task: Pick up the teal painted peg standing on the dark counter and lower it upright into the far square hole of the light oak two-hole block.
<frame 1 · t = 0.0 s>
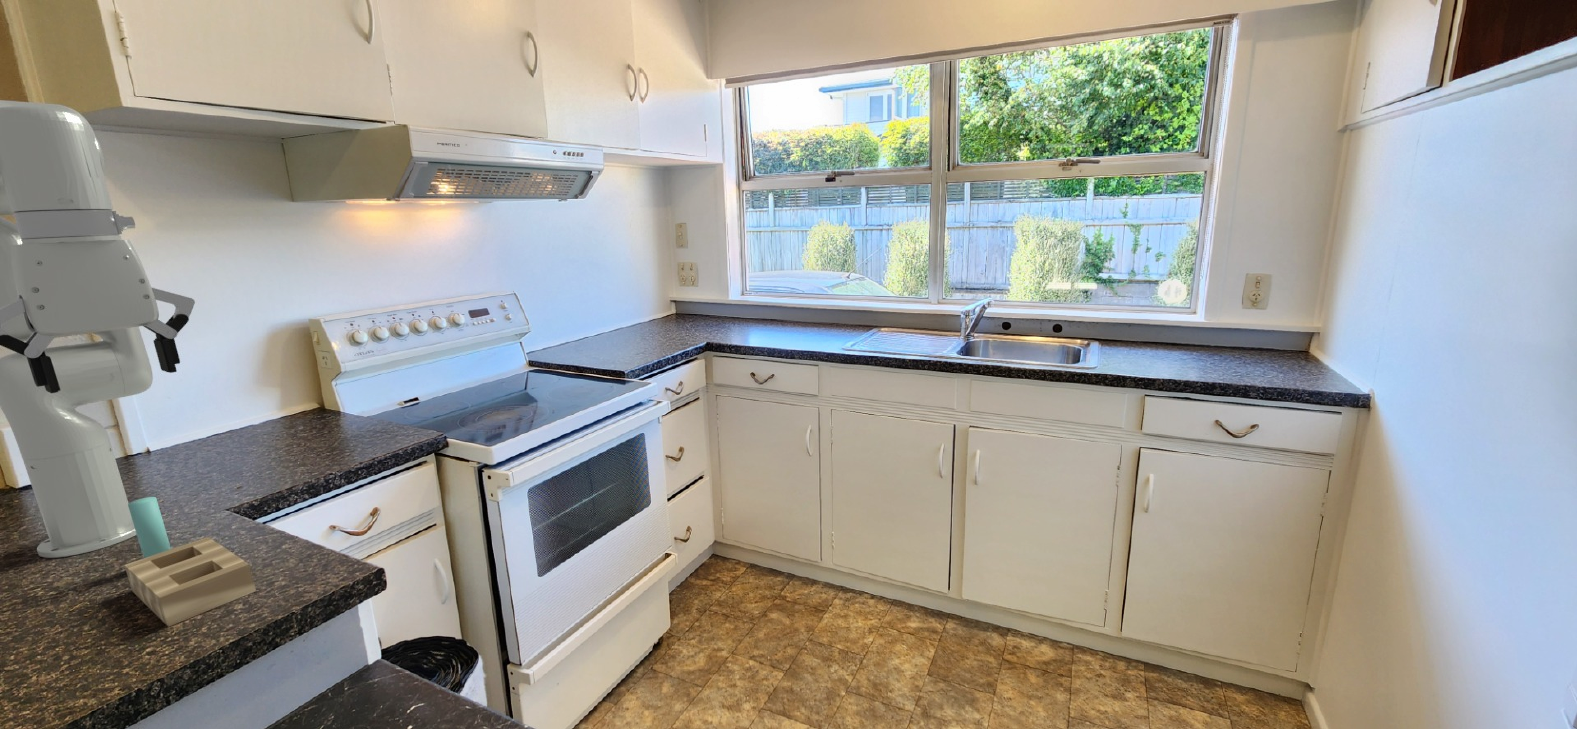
hand: (114, 380, 76), 31 cm above the countertop, tool pointing down, fingers open, 9 cm apart
peg: (160, 563, 98), on the countertop
hole block: (193, 591, 89), on the countertop
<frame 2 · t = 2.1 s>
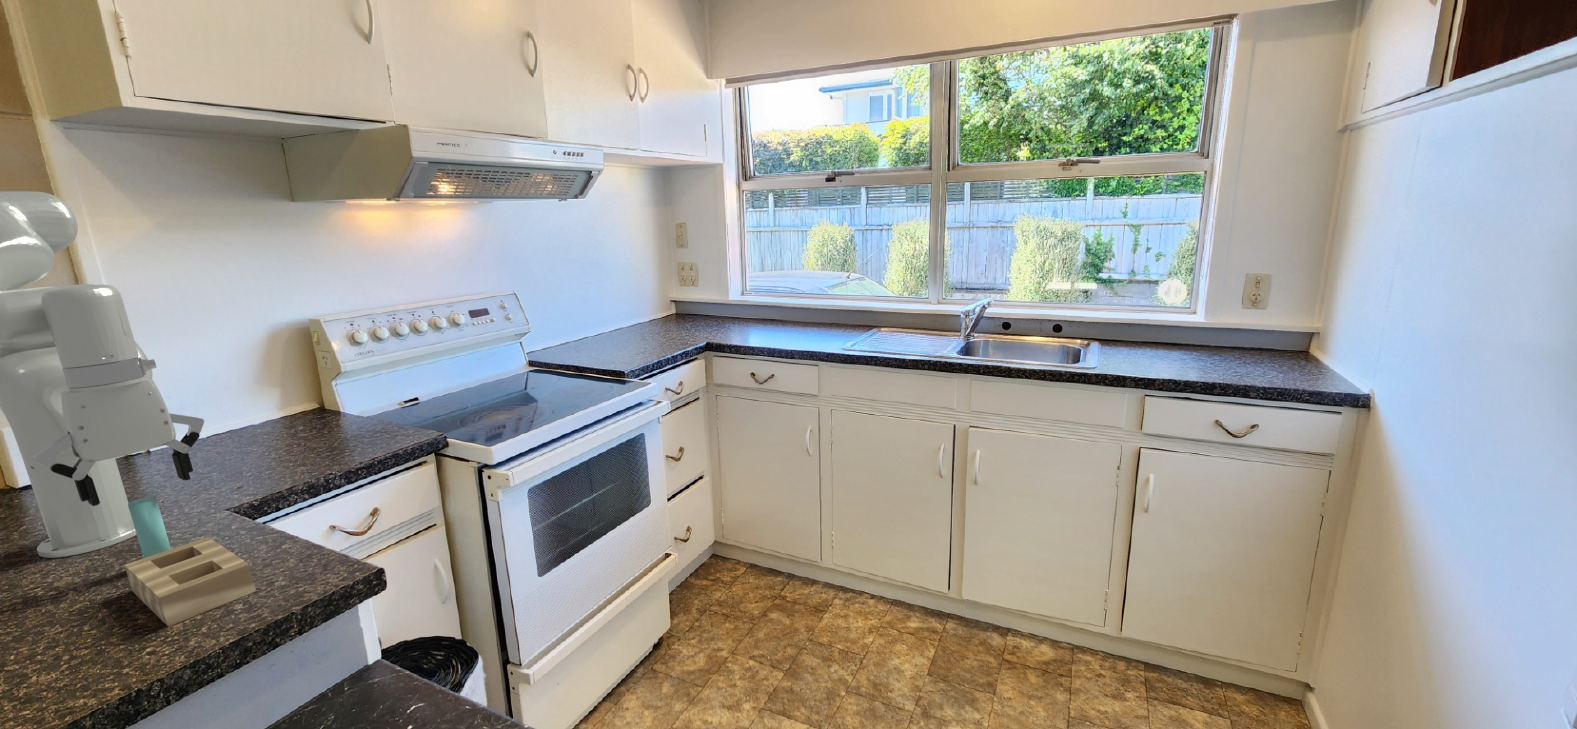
hand: (141, 490, 95), 12 cm above the countertop, tool pointing down, fingers open, 9 cm apart
nothing on the countertop moved.
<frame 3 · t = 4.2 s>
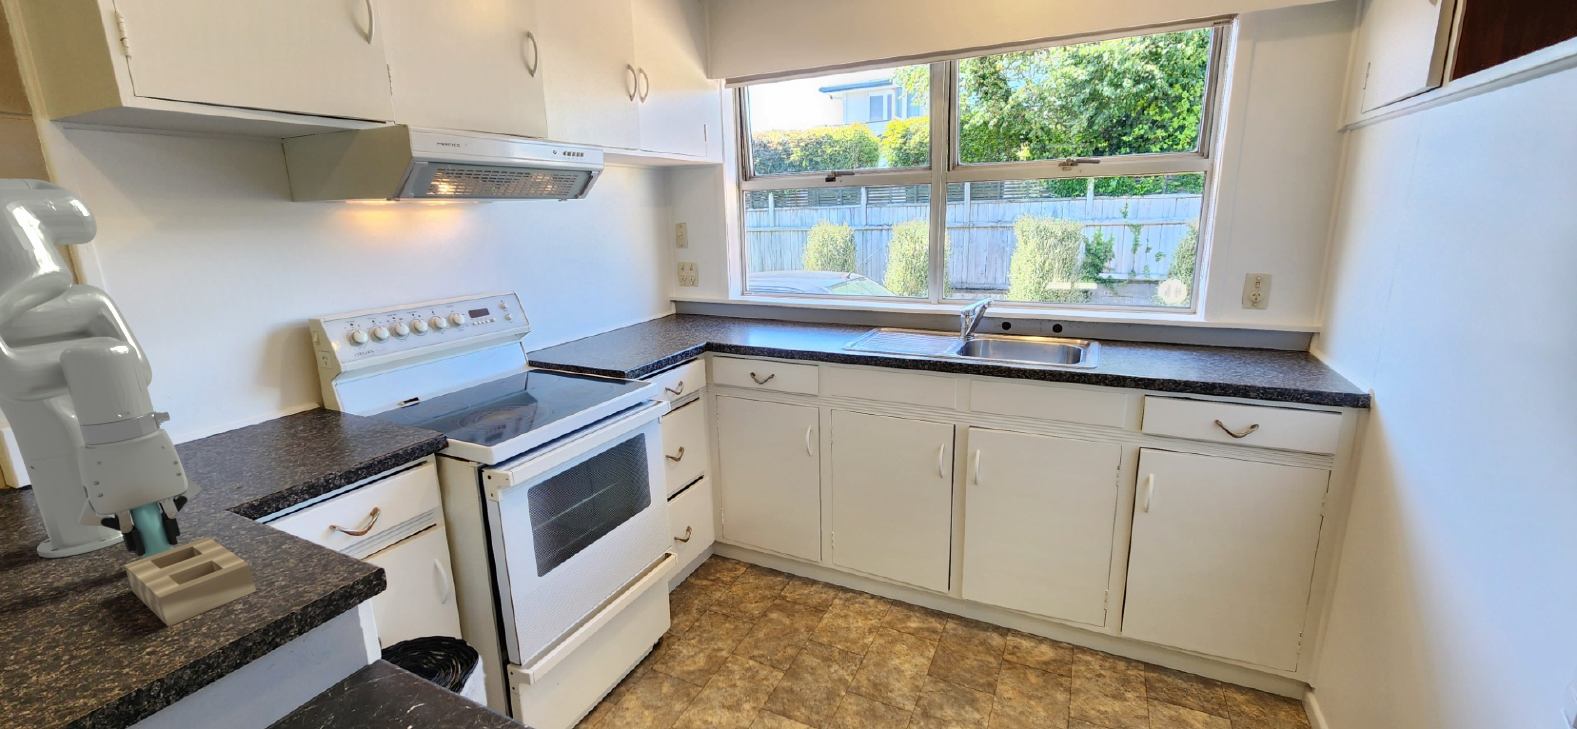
hand: (155, 547, 97), 3 cm above the countertop, tool pointing down, fingers closed on peg, 3 cm apart
peg: (160, 563, 98), on the countertop, touching gripper
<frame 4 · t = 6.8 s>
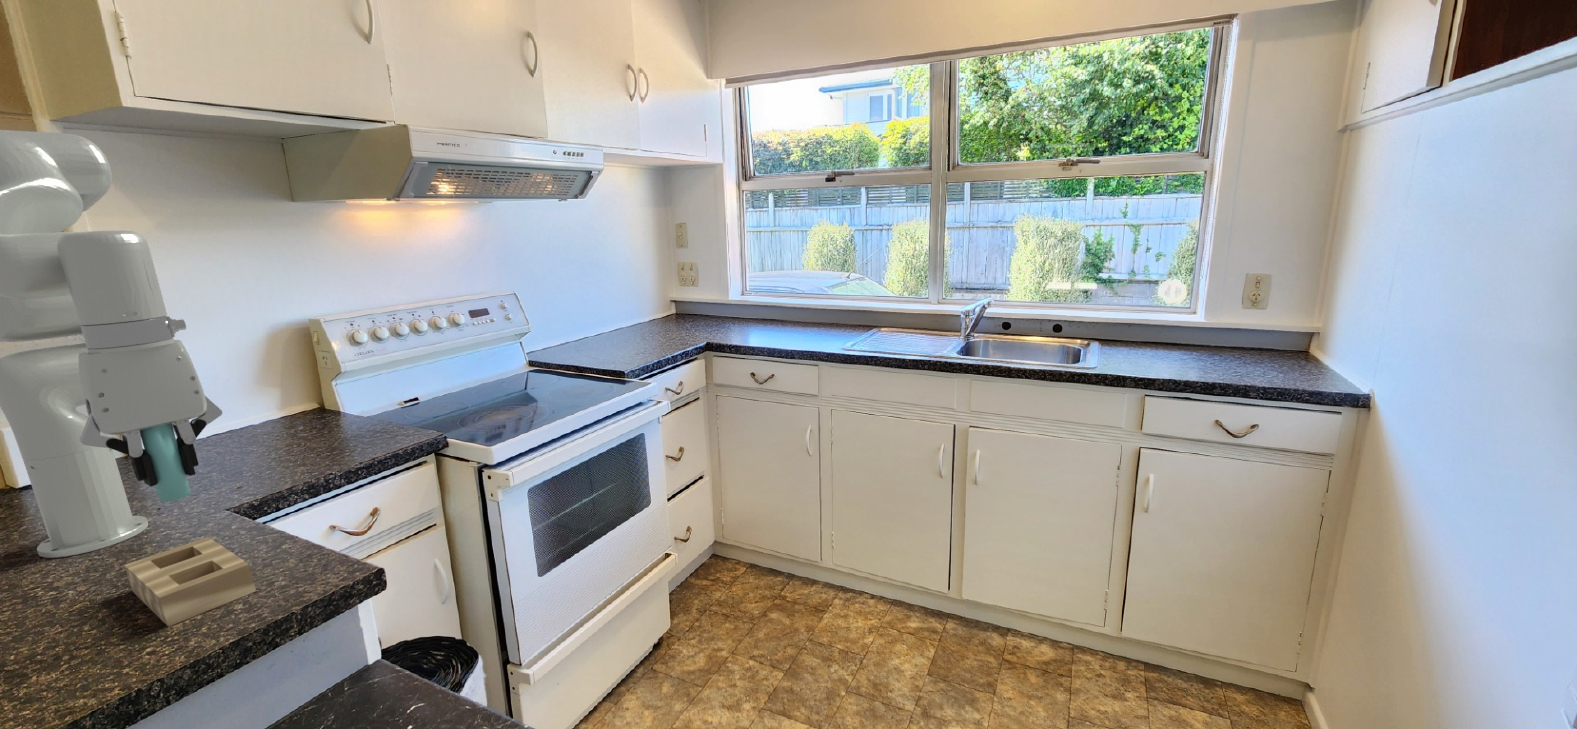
hand: (169, 477, 83), 17 cm above the countertop, tool pointing down, fingers closed on peg, 3 cm apart
peg: (175, 496, 84), point 15 cm above the countertop, touching gripper
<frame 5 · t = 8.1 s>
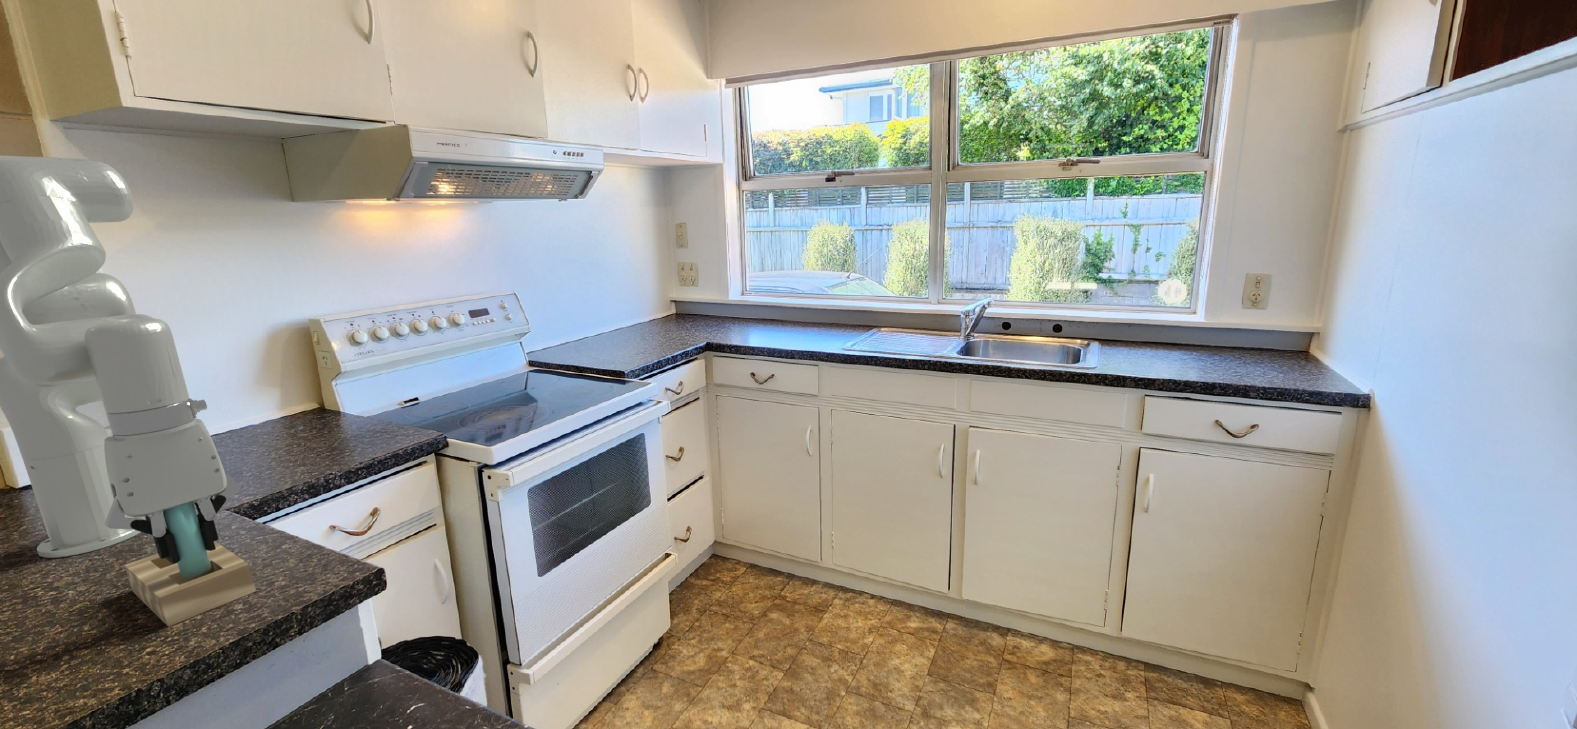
hand: (191, 553, 86), 7 cm above the countertop, tool pointing down, fingers closed on peg, 3 cm apart
peg: (196, 571, 86), point 4 cm above the countertop, touching gripper
when the fingers open (5 cm above the countertop, at t = 9.4 s): peg drops 2 cm, resting in hole block.
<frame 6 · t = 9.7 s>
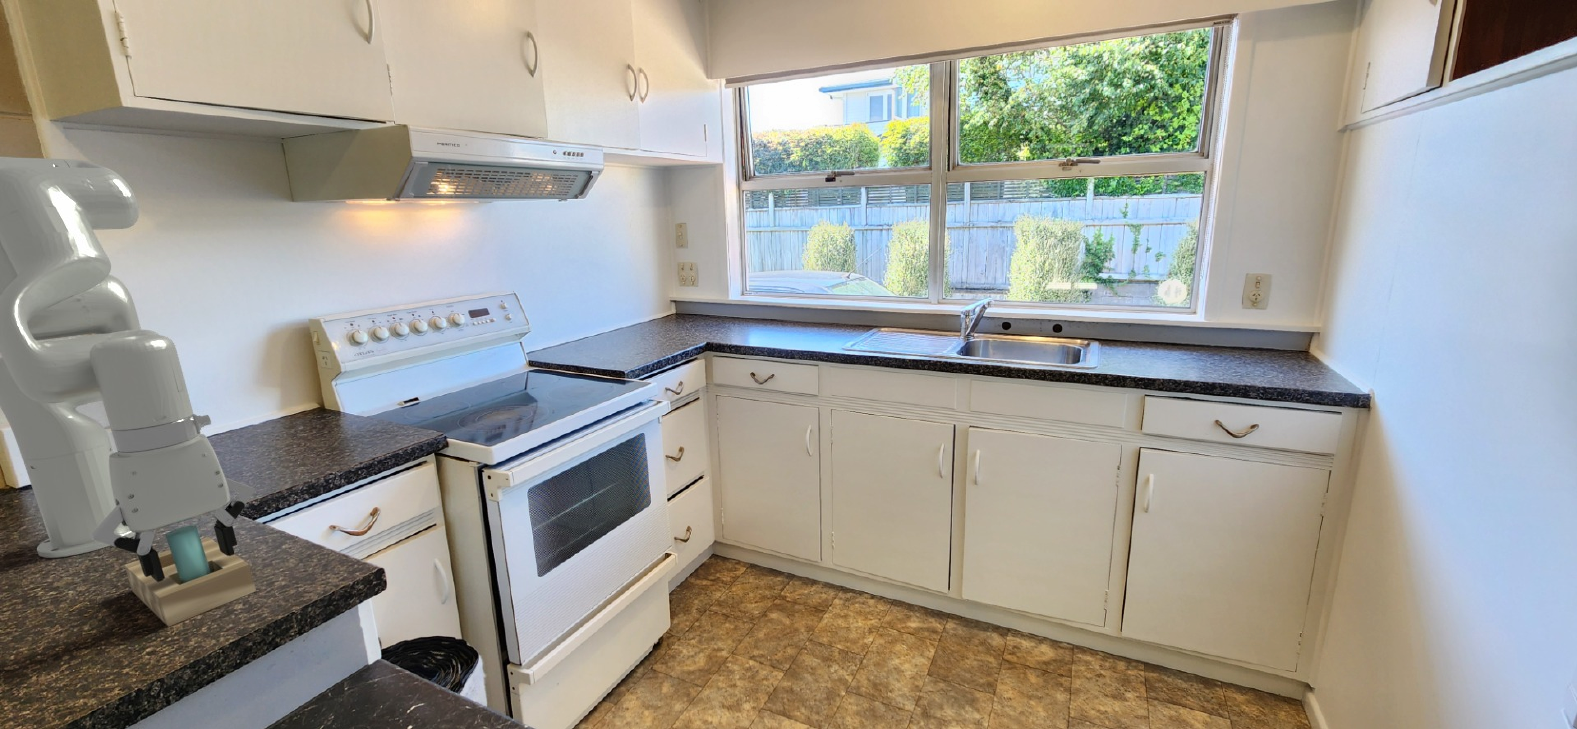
hand: (193, 564, 86), 5 cm above the countertop, tool pointing down, fingers open, 6 cm apart
peg: (203, 599, 87), resting in hole block
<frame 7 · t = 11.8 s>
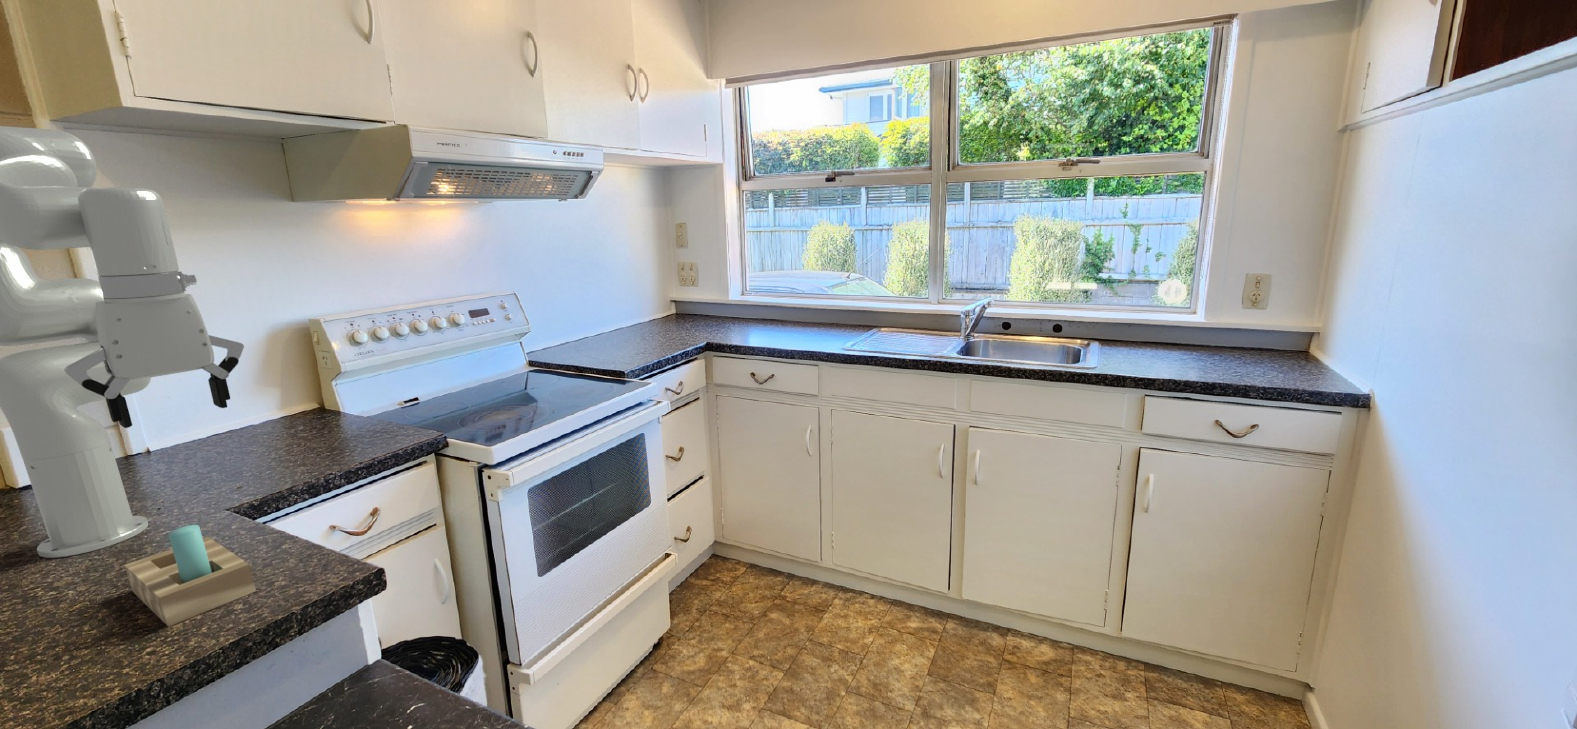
hand: (175, 415, 88), 24 cm above the countertop, tool pointing down, fingers open, 9 cm apart
nothing on the countertop moved.
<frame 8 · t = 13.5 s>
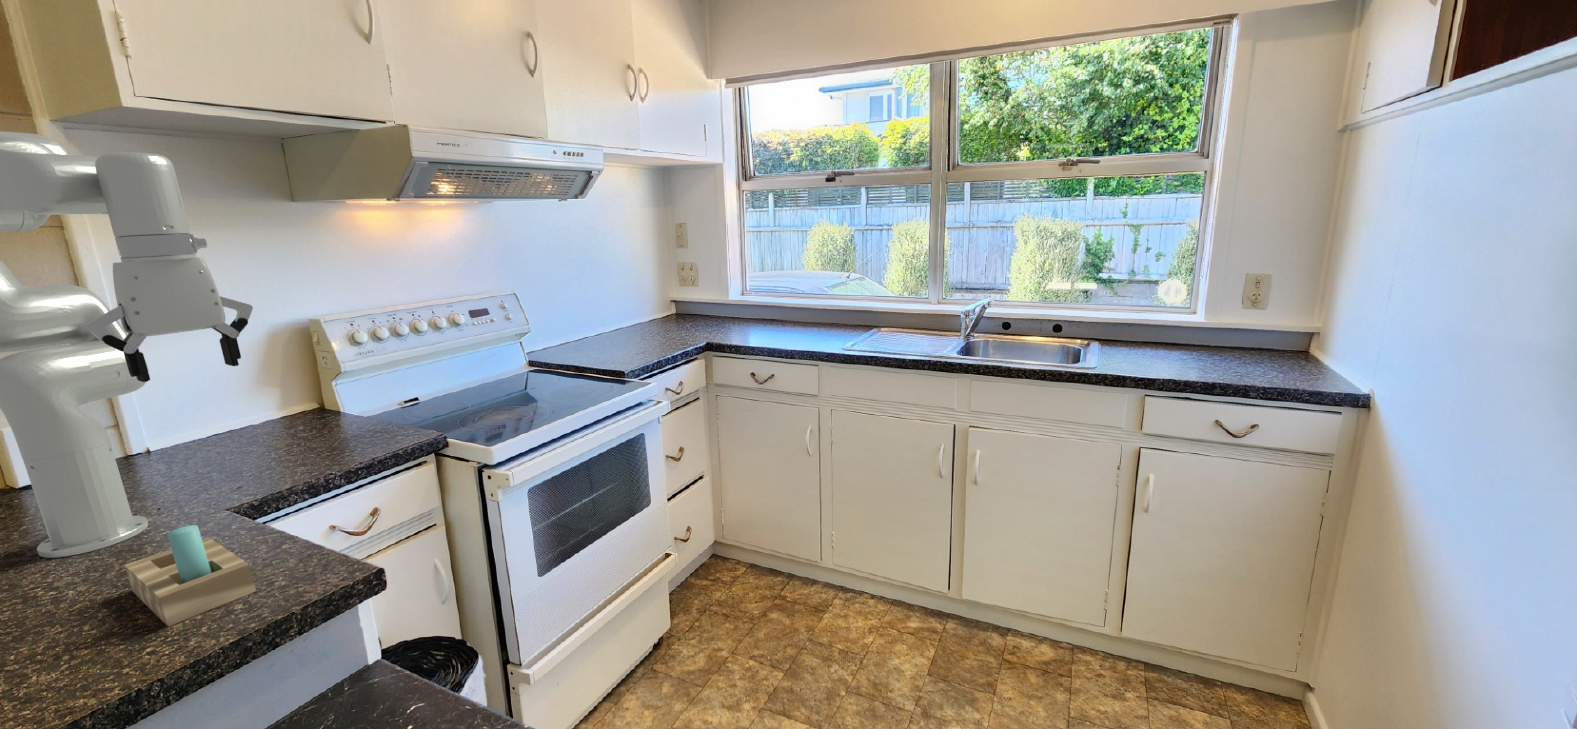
hand: (189, 372, 92), 28 cm above the countertop, tool pointing down, fingers open, 9 cm apart
nothing on the countertop moved.
at the end: peg 0.1 cm from the target spot on the hole block, point 0.0 cm above the hole block's base; peg tilted 0°; the gripper is holding nothing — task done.
